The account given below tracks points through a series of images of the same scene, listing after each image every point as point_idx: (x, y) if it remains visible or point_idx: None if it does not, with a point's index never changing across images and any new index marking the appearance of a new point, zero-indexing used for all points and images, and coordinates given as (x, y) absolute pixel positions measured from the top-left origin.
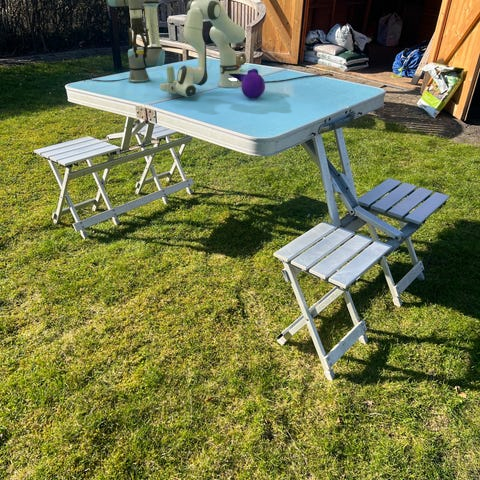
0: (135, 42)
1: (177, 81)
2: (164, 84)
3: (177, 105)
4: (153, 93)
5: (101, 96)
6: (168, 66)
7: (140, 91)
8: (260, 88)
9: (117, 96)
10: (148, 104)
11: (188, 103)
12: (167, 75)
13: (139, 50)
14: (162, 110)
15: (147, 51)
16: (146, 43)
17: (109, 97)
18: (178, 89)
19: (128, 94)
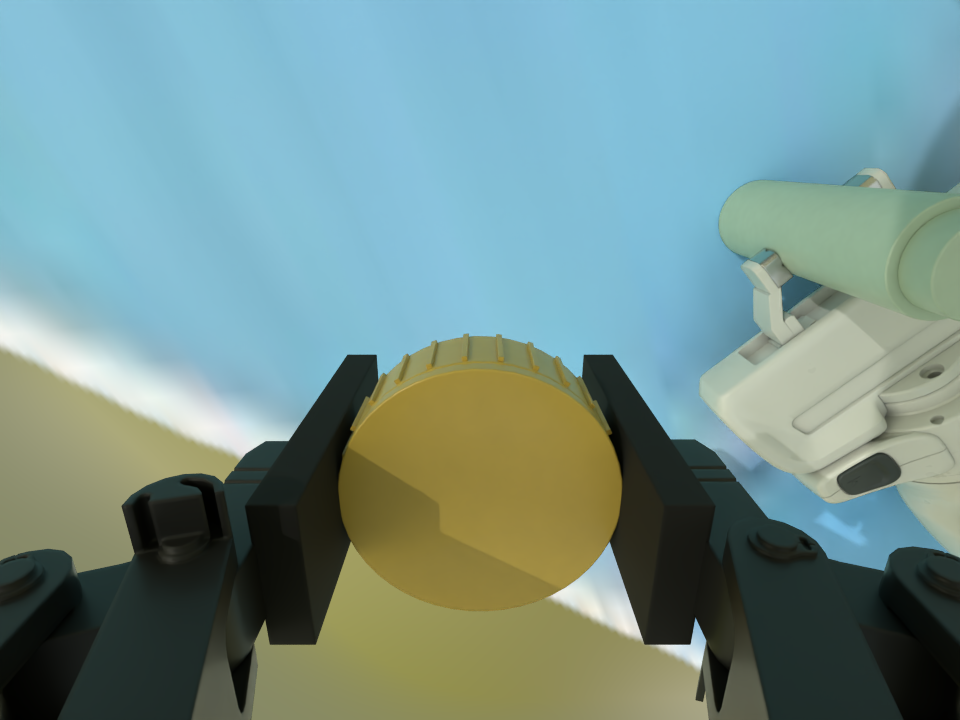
0: (218, 709)
1: (954, 468)
2: (782, 470)
3: None
4: (550, 223)
5: (109, 391)
6: (958, 256)
7: (374, 140)
8: None
9: (254, 377)
10: (622, 579)
11: (922, 530)
12: (835, 282)
13: (480, 570)
14: None
15: (700, 456)
16: (842, 640)
17: (205, 417)
18: (910, 502)
19: (314, 291)
